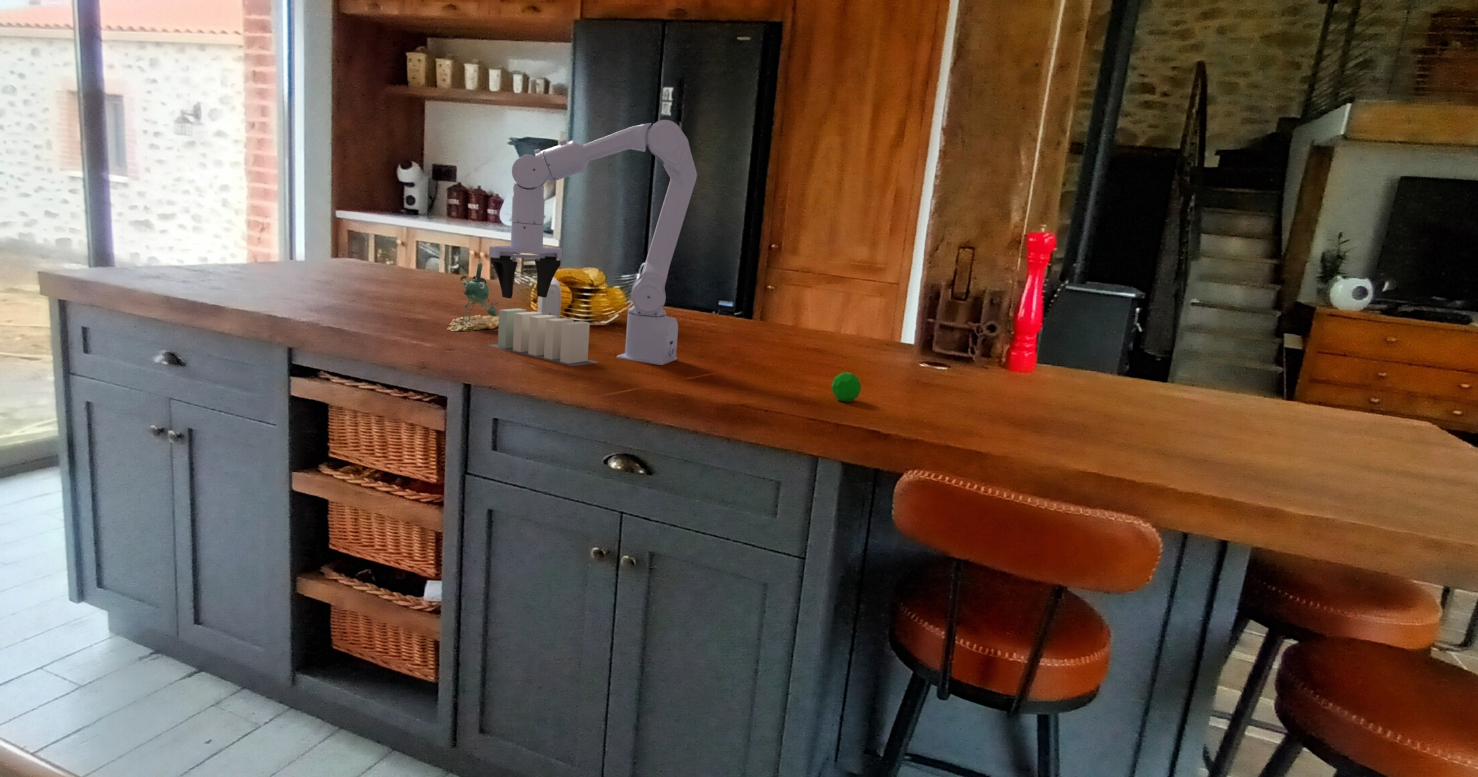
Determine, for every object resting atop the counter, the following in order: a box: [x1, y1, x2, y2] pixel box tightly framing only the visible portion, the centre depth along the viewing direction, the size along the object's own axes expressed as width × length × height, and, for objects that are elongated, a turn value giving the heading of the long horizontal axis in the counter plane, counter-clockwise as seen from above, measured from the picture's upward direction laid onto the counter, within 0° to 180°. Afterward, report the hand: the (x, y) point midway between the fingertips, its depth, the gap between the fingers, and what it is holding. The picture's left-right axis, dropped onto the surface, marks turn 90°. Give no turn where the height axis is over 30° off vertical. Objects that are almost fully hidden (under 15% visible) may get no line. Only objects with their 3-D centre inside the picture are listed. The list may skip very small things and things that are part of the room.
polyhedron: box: [831, 372, 862, 403], centre depth 148 cm, size 5×5×5 cm
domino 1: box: [513, 311, 542, 352], centre depth 163 cm, size 2×5×7 cm, turn 147°
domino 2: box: [528, 315, 557, 356], centre depth 161 cm, size 2×5×7 cm, turn 148°
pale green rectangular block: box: [497, 308, 528, 348], centre depth 165 cm, size 2×5×7 cm, turn 147°
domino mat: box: [486, 343, 600, 367], centre depth 162 cm, size 22×7×1 cm, turn 57°
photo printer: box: [537, 276, 562, 319], centre depth 182 cm, size 10×4×12 cm, turn 17°
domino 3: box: [544, 317, 574, 360], centre depth 159 cm, size 2×5×7 cm, turn 148°
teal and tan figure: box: [446, 261, 499, 332], centre depth 183 cm, size 10×18×15 cm, turn 155°
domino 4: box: [560, 320, 591, 364], centre depth 157 cm, size 2×5×7 cm, turn 147°
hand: (524, 297), depth 162 cm, fingers open, 7 cm apart
